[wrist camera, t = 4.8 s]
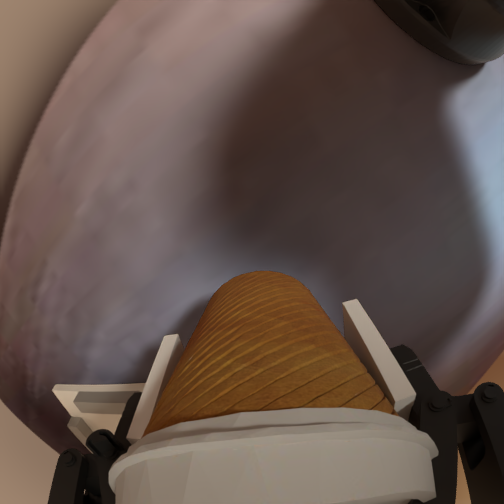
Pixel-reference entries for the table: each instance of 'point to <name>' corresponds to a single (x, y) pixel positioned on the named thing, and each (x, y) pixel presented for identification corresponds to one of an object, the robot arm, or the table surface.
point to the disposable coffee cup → (273, 413)
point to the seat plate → (95, 406)
